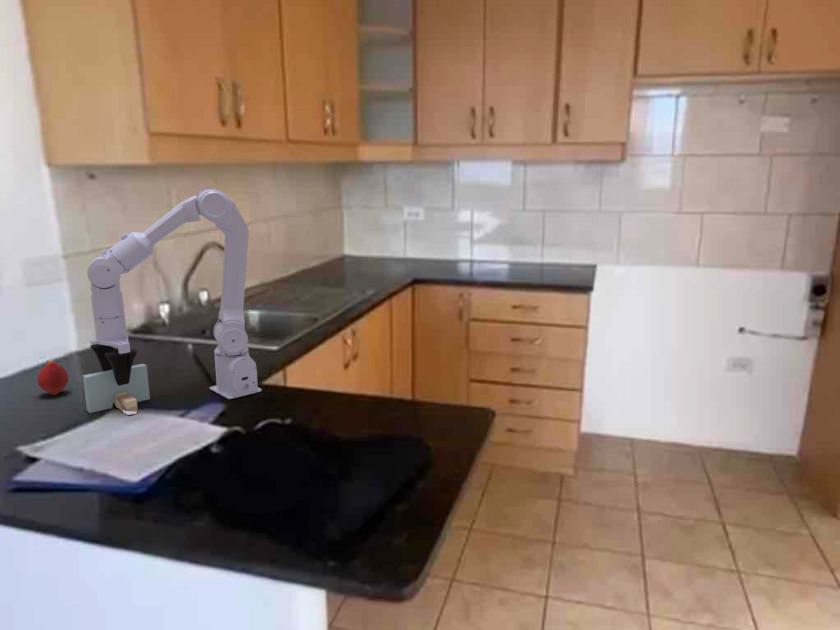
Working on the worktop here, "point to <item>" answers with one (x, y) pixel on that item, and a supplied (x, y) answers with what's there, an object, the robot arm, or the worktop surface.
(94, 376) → the teal plate
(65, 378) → the onion
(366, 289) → the worktop surface
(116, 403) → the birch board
